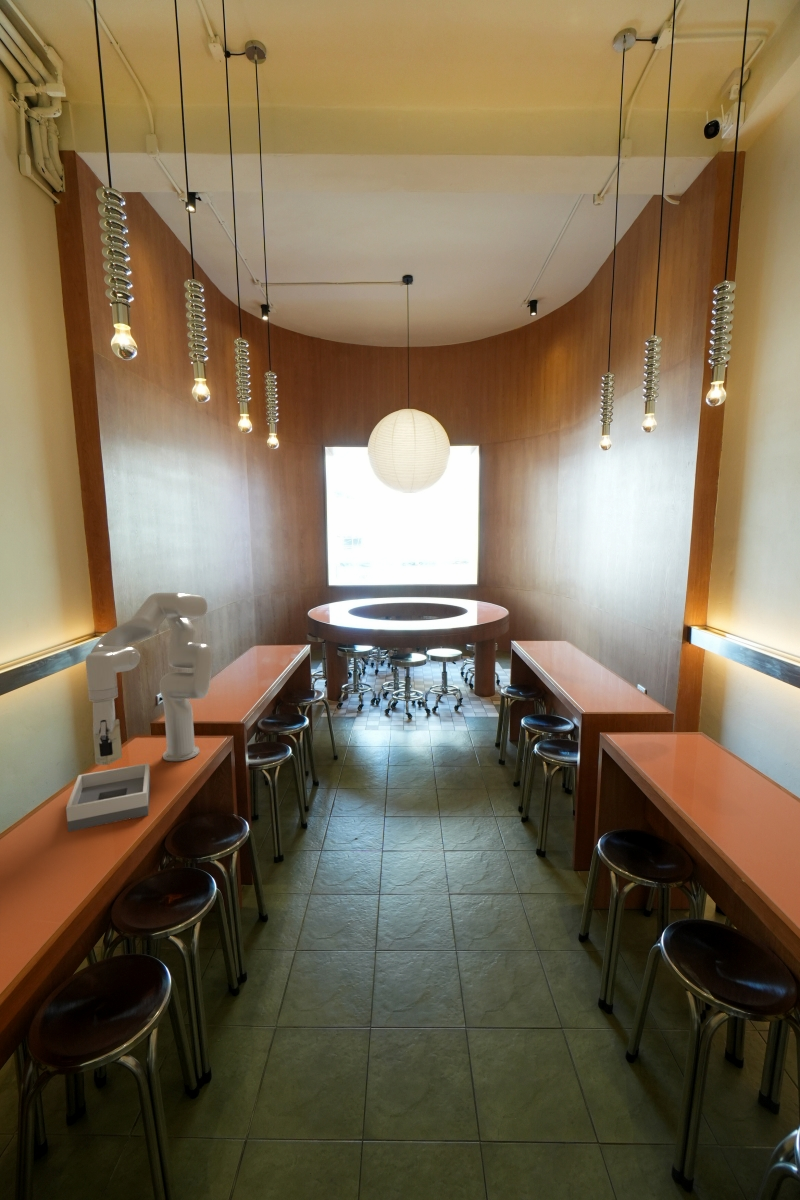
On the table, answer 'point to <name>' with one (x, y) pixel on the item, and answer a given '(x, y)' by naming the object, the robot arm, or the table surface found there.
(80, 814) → the bore box
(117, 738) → the skincare box
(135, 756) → the table surface
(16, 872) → the table surface
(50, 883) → the table surface
